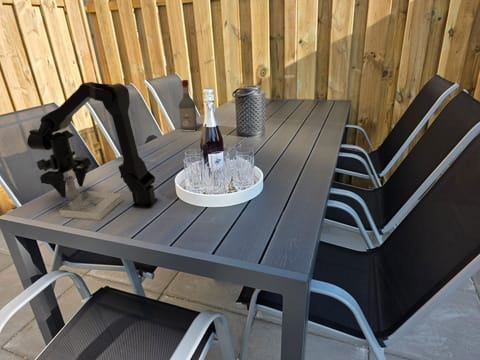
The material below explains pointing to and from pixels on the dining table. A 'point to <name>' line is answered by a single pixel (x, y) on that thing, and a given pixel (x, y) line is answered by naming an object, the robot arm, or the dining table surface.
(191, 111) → the liquor
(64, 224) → the dining table surface
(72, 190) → the rook chess piece
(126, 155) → the robot arm
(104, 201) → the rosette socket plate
